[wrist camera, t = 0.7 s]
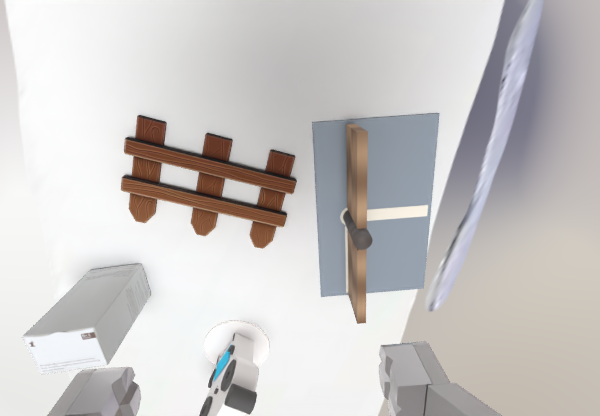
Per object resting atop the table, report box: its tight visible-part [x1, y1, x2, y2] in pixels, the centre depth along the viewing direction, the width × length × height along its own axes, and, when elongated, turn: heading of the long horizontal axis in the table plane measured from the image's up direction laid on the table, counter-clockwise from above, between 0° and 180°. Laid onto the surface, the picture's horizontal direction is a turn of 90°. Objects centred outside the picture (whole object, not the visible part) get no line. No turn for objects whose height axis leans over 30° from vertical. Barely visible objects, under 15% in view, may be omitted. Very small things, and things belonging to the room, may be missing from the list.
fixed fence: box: [343, 210, 373, 324], centre depth 47 cm, size 15×2×8 cm, turn 4°
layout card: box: [312, 113, 439, 297], centre depth 48 cm, size 28×17×1 cm, turn 4°
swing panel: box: [346, 124, 368, 229], centre depth 42 cm, size 12×1×7 cm, turn 4°
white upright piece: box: [200, 320, 270, 416], centre depth 50 cm, size 12×11×15 cm
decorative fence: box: [121, 115, 297, 249], centre depth 46 cm, size 23×2×15 cm
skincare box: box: [22, 264, 151, 374], centre depth 44 cm, size 8×6×15 cm
